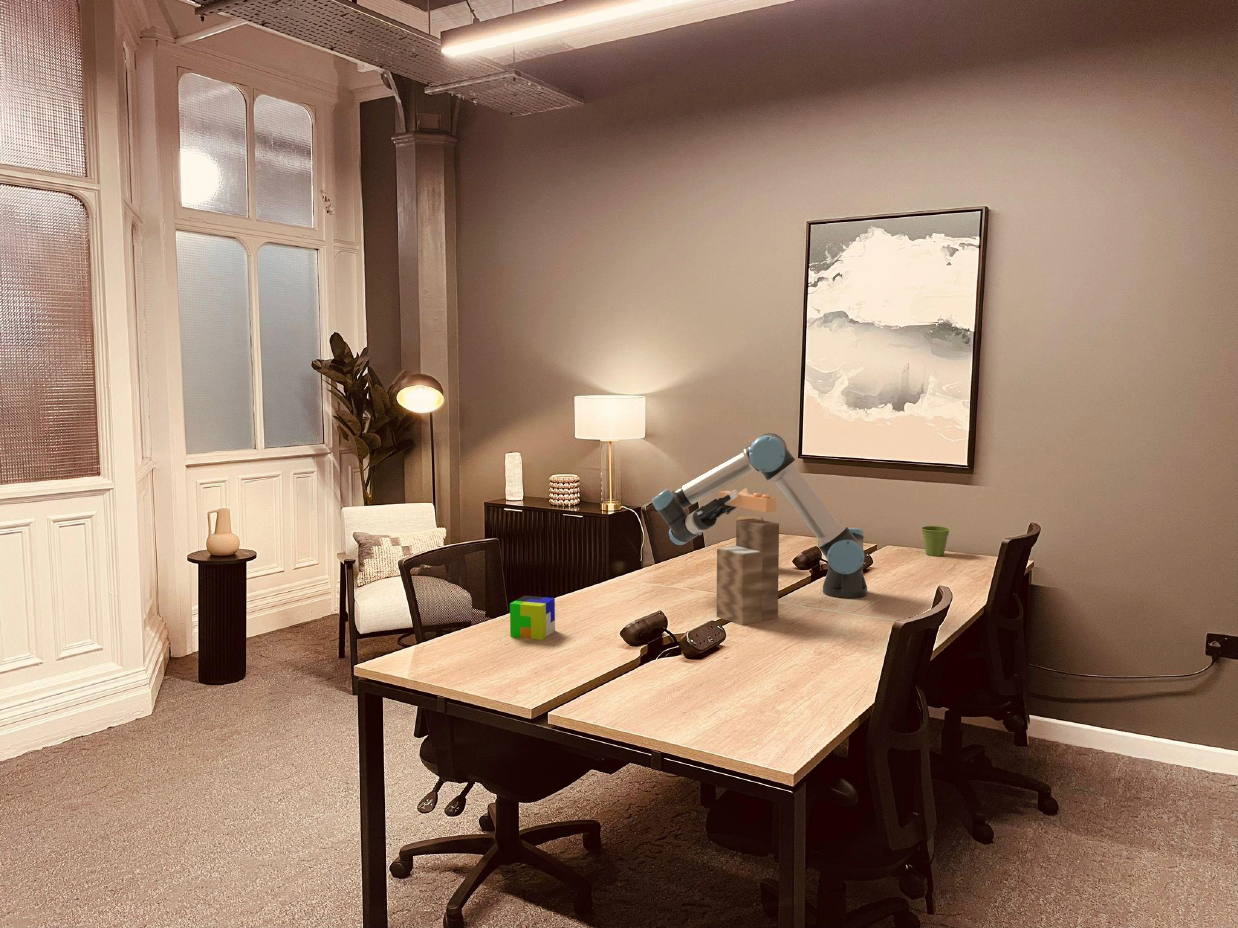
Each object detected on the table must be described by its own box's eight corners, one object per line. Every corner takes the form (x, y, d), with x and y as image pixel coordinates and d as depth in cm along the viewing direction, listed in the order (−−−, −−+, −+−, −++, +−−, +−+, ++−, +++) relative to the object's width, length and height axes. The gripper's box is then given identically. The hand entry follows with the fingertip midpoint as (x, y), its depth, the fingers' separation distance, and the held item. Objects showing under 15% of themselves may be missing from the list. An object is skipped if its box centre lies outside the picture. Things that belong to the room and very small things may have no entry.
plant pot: (915, 552, 393) (915, 526, 392) (941, 551, 394) (942, 525, 393) (927, 557, 381) (928, 531, 380) (954, 557, 382) (955, 530, 381)
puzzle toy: (555, 630, 278) (554, 598, 277) (541, 639, 269) (541, 606, 268) (524, 627, 281) (524, 595, 280) (510, 636, 272) (509, 603, 271)
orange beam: (718, 503, 302) (719, 488, 301) (728, 502, 304) (728, 487, 304) (766, 512, 284) (766, 496, 283) (775, 511, 286) (775, 495, 286)
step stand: (716, 616, 293) (717, 522, 290) (751, 609, 301) (752, 518, 298) (742, 625, 283) (743, 528, 280) (777, 617, 291) (779, 523, 288)
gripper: (724, 527, 317) (766, 500, 299) (685, 532, 307) (726, 505, 289) (717, 507, 319) (758, 479, 301) (678, 511, 309) (718, 483, 292)
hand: (742, 492), depth 295 cm, fingers closed on orange beam, 4 cm apart
